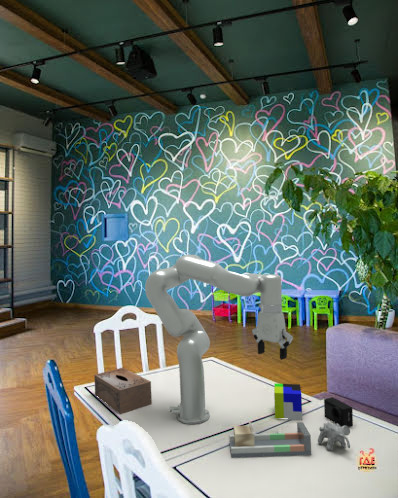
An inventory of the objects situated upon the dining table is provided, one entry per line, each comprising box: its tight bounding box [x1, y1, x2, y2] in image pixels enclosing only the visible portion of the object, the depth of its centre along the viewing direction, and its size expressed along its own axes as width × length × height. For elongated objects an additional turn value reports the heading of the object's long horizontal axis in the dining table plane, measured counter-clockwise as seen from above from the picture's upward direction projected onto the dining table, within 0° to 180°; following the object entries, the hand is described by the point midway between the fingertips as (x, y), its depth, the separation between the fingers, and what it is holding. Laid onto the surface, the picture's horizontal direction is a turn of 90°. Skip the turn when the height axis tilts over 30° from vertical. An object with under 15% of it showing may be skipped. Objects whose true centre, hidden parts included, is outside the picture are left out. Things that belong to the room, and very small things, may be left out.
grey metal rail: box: [228, 432, 312, 459], centre depth 126 cm, size 25×9×3 cm, turn 90°
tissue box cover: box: [94, 367, 153, 415], centre depth 171 cm, size 26×14×10 cm, turn 38°
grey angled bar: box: [296, 421, 312, 452], centre depth 126 cm, size 2×9×5 cm, turn 0°
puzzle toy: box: [273, 383, 303, 421], centre depth 151 cm, size 10×10×10 cm
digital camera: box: [323, 396, 354, 428], centre depth 144 cm, size 10×5×7 cm, turn 21°
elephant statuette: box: [317, 422, 351, 451], centre depth 125 cm, size 9×12×8 cm
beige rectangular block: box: [233, 421, 256, 447], centre depth 126 cm, size 6×9×6 cm
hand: (272, 355), depth 140 cm, fingers open, 9 cm apart
